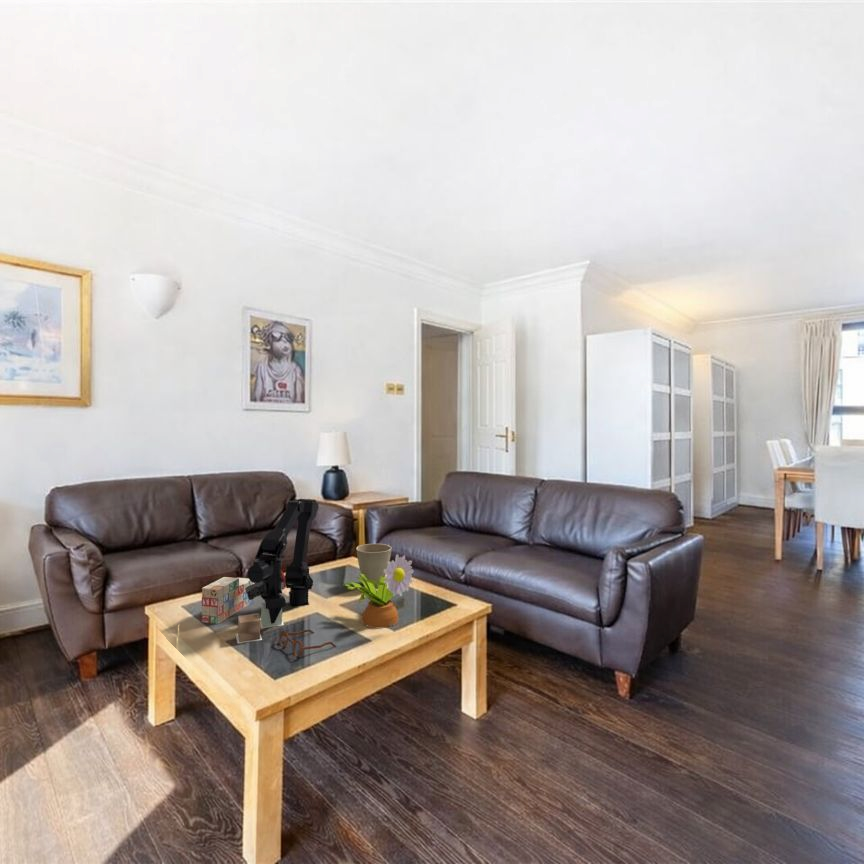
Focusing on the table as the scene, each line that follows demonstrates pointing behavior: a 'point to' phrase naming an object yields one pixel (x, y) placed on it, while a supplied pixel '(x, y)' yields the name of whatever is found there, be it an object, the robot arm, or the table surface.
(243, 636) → the walnut block
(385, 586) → the decorative plant
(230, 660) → the table surface
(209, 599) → the stack of blocks
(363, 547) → the plant pot
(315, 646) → the glasses
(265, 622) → the sage block
